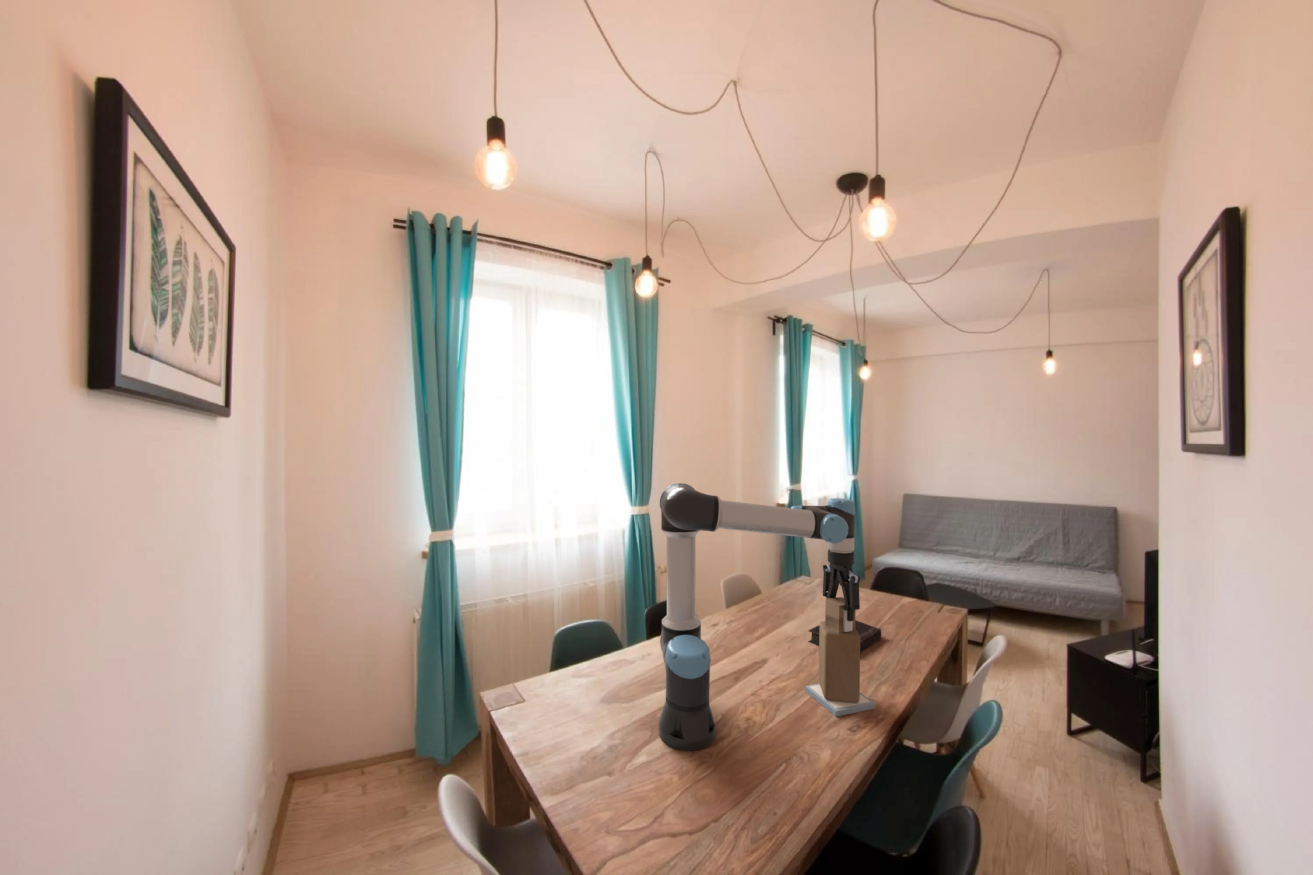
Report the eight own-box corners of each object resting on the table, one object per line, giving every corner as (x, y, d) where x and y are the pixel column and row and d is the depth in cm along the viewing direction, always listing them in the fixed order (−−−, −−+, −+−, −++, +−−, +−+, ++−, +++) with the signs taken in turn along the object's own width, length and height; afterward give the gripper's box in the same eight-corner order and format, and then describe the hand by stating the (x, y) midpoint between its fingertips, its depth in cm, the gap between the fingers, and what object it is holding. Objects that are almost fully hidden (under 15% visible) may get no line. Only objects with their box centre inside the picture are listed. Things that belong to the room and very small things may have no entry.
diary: (881, 641, 183) (882, 628, 183) (853, 660, 166) (853, 646, 166) (836, 625, 197) (837, 613, 197) (805, 642, 180) (806, 629, 180)
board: (835, 716, 131) (835, 710, 131) (805, 690, 144) (805, 685, 144) (875, 708, 135) (875, 702, 135) (841, 683, 149) (841, 678, 149)
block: (860, 704, 134) (861, 635, 134) (824, 700, 136) (825, 632, 136) (851, 686, 144) (852, 622, 144) (818, 683, 146) (819, 619, 146)
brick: (838, 632, 136) (839, 605, 136) (825, 624, 142) (825, 598, 142) (855, 630, 138) (855, 603, 138) (841, 622, 144) (841, 596, 144)
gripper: (874, 556, 132) (873, 637, 132) (830, 542, 150) (829, 613, 150) (853, 558, 130) (852, 641, 130) (810, 543, 148) (809, 616, 148)
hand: (840, 626), depth 140 cm, fingers closed on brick, 6 cm apart
